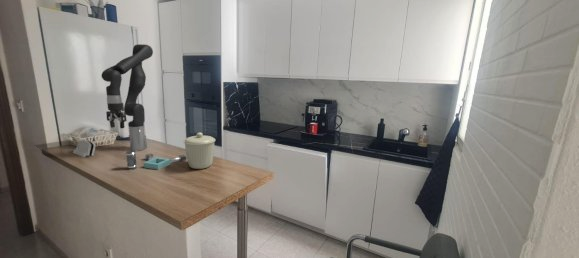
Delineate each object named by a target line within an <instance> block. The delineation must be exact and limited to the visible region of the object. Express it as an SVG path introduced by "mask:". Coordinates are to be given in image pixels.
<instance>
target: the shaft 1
mask: <svg viewBox="0 0 579 258" xmlns="http://www.w3.org/2000/svg"><path fill="white" fill-rule="evenodd" d="M154 158H155V157H154V154H153V153H147V154H144V159H145V160H146V161H149V160H151V159H154Z"/></svg>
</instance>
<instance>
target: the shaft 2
mask: <svg viewBox="0 0 579 258" xmlns="http://www.w3.org/2000/svg"><path fill="white" fill-rule="evenodd" d="M169 159H170V163H171V164H173V163H176V162H177V163H178V162H186V161H187V160H188V159H187V155H185V154H180V155H178V156H177V157H173V158H169Z"/></svg>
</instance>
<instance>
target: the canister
mask: <svg viewBox="0 0 579 258" xmlns="http://www.w3.org/2000/svg"><path fill="white" fill-rule="evenodd" d="M215 142H216V138H215V137H213V136H210V135H205V134H203V132H197V133H196V135H193V136H189V137H186V138H185V139H183V144H184V146H185V154H186V158H187V159H186V160H187V163H188V166H189V167H190V168H192V169H194V170H195V169H197V170H202V169H207V168H209V167H211V166H212V164H213V160H214V151H215V150H214V149H215Z"/></svg>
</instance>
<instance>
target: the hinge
mask: <svg viewBox="0 0 579 258" xmlns="http://www.w3.org/2000/svg"><path fill="white" fill-rule="evenodd" d="M95 151H96V144H95V143H94V142H93V141H90V140H86V139H85V140H82V139H81V140H79V141H78V142H77V145H76V148H75V149H74V150H73V151H72V154H74V155H77V156H80V157H82V158H86V156H92V157H94V156H95ZM93 155H94V156H93Z"/></svg>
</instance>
